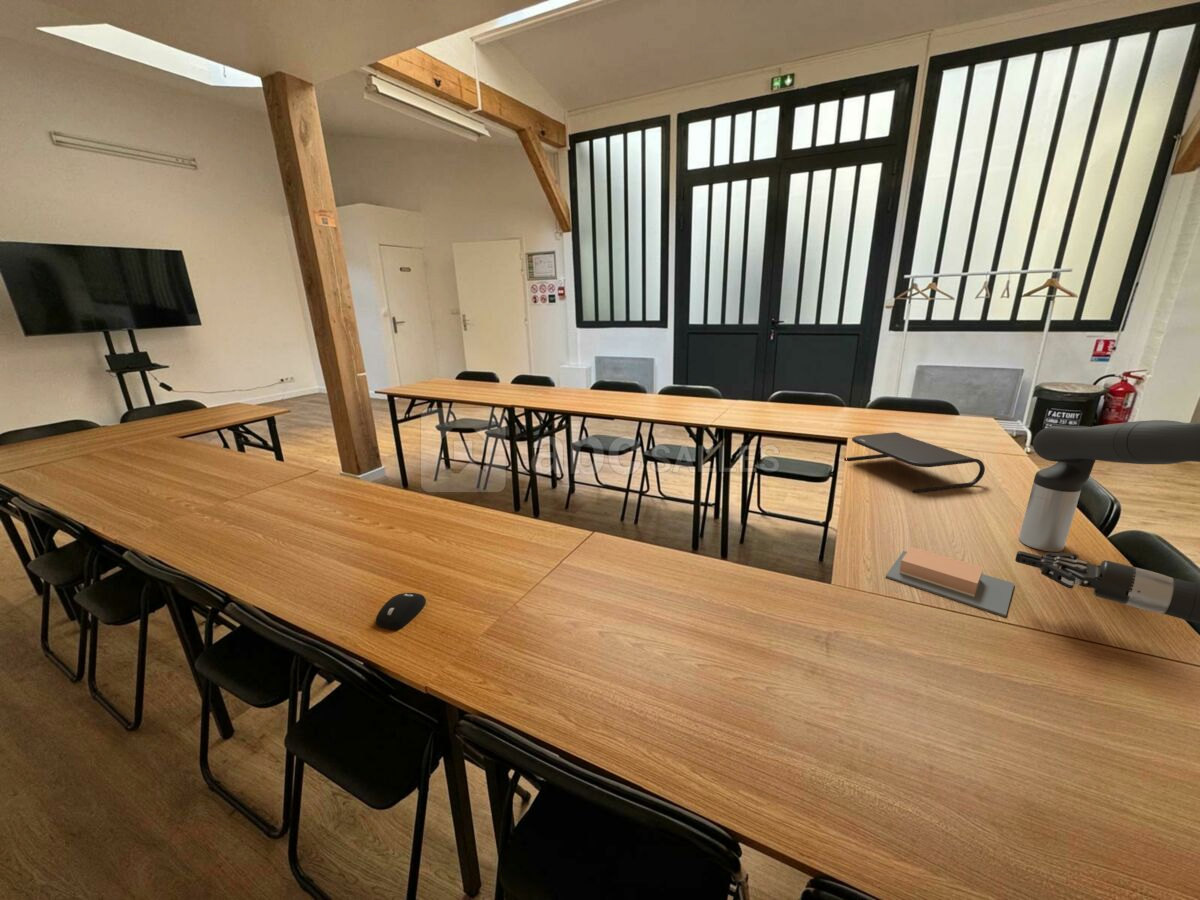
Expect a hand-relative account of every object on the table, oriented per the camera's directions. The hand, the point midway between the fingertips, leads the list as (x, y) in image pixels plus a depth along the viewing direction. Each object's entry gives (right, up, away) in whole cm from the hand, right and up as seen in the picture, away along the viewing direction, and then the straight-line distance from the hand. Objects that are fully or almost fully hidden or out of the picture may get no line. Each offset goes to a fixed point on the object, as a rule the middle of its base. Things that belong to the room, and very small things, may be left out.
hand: (1016, 556), depth 104 cm
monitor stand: (+28, +14, +80) cm, 86 cm away
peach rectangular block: (-3, -7, +6) cm, 10 cm away
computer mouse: (-137, -15, +6) cm, 138 cm away
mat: (-7, -8, +11) cm, 15 cm away
